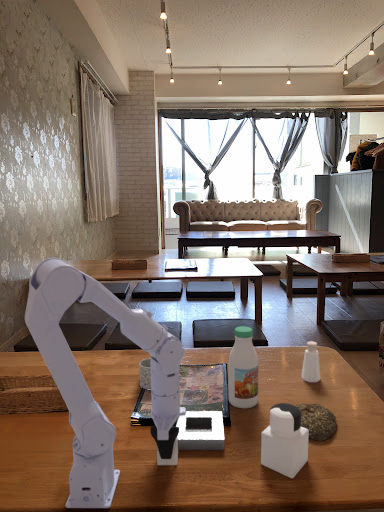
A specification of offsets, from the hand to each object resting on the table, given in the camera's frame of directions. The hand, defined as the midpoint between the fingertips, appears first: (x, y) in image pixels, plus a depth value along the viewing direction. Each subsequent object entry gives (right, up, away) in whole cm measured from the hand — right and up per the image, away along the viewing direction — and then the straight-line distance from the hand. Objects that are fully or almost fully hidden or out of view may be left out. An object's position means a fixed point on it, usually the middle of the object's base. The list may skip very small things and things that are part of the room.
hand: (167, 450), depth 85 cm
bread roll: (+33, 0, +13) cm, 35 cm away
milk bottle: (+19, +2, +23) cm, 29 cm away
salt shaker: (+40, +4, +35) cm, 53 cm away
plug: (0, -2, 0) cm, 2 cm away
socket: (+7, 0, +9) cm, 11 cm away
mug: (-7, +3, +34) cm, 35 cm away
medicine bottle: (+24, -2, -1) cm, 24 cm away
